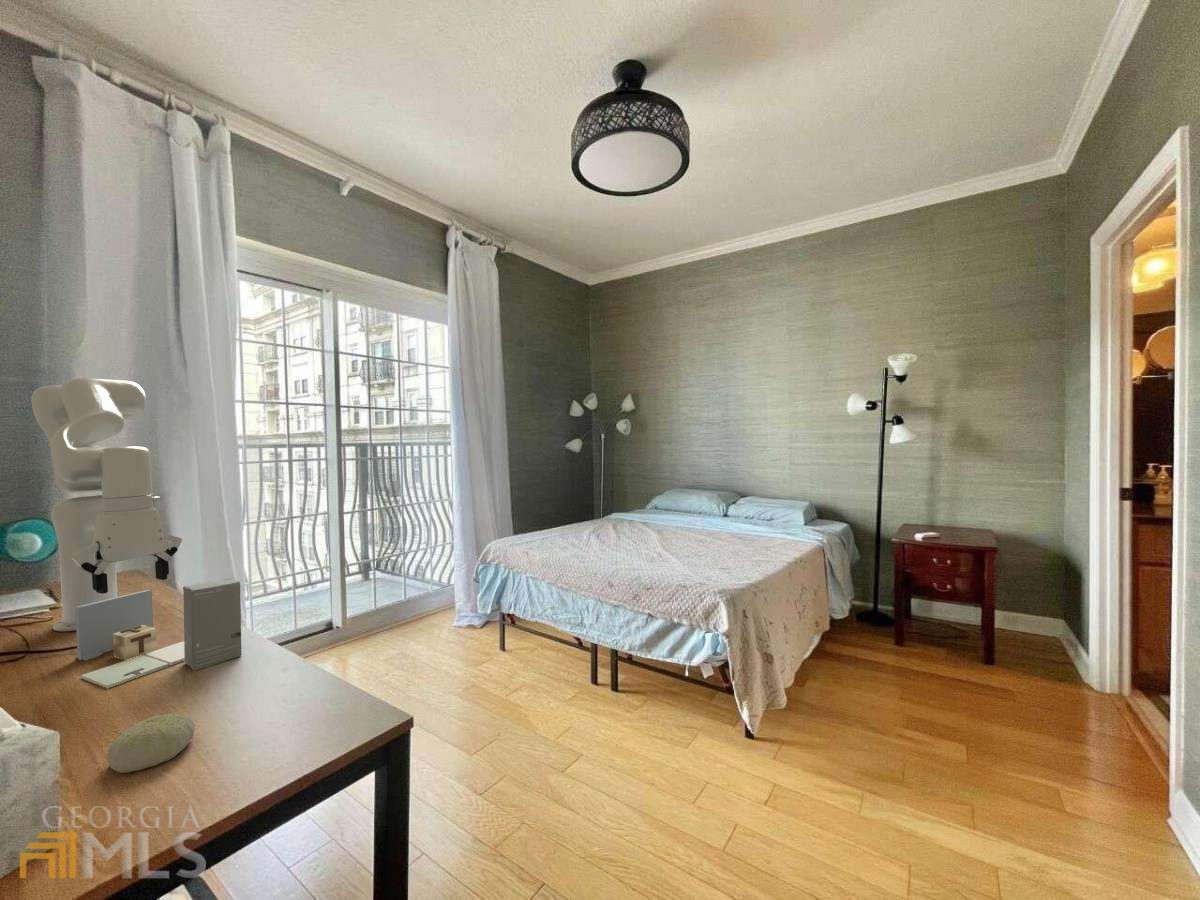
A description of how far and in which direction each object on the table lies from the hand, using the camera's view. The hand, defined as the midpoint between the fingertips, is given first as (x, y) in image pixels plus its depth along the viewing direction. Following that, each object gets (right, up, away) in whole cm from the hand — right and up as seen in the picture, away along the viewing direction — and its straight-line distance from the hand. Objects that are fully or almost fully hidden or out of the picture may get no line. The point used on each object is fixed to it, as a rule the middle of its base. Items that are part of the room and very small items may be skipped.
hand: (133, 585), depth 100 cm
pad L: (+10, -15, +1) cm, 18 cm away
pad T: (+6, -15, -7) cm, 18 cm away
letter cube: (0, -15, +1) cm, 15 cm away
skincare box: (+19, -15, -2) cm, 24 cm away
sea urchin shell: (+34, -16, -32) cm, 50 cm away
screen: (-7, -15, +4) cm, 17 cm away
